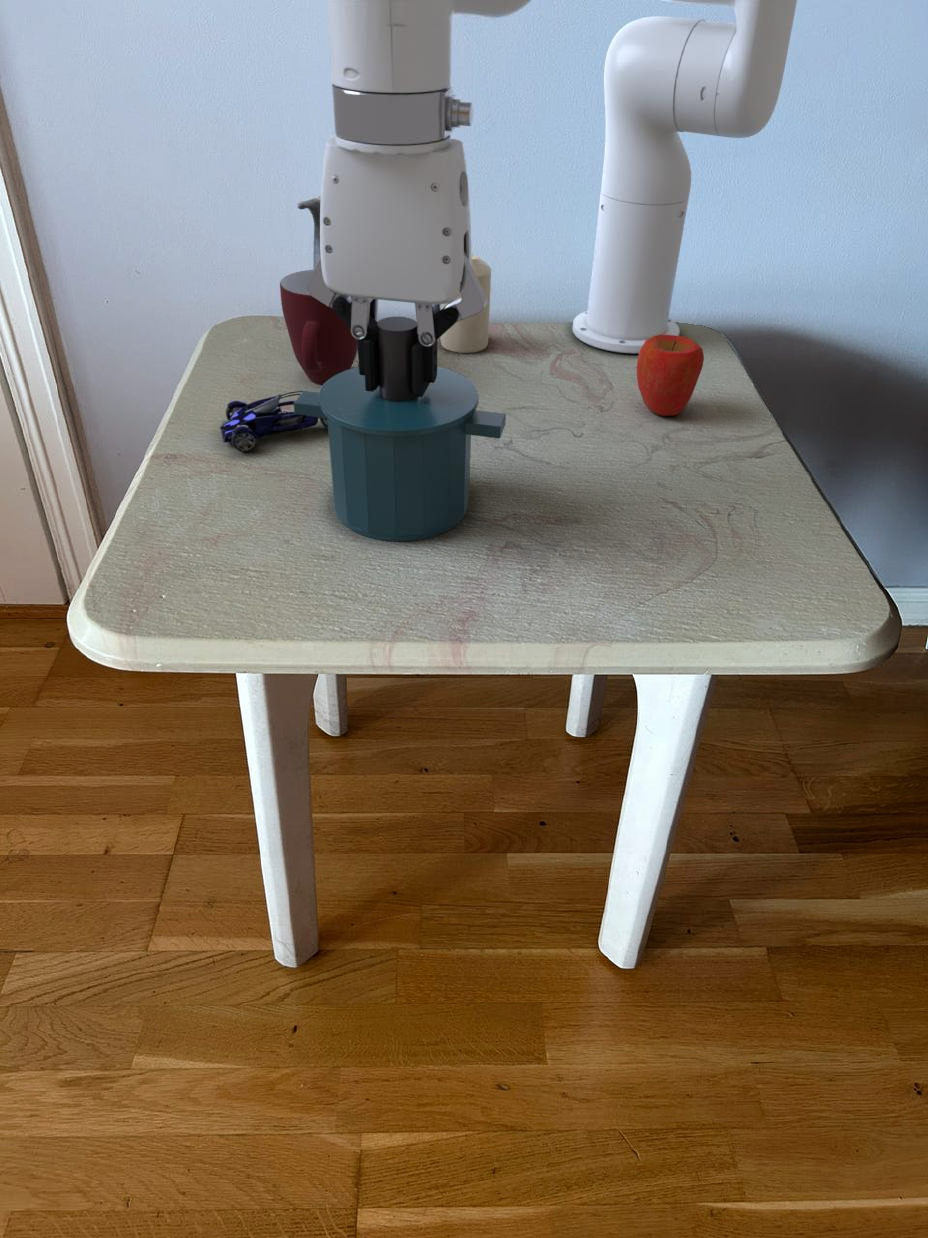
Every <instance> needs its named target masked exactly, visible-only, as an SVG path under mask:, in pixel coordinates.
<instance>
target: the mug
mask: <svg viewBox="0 0 928 1238" xmlns="http://www.w3.org/2000/svg"><path fill="white" fill-rule="evenodd" d="M314 271H315V270H313V269H307V270H306V269H305V270H301V271H297V272H293V273H290V274H288V275H286V276H284V277H283V278H282V279H281V280H280V282H279V291H280V293H279V294H280V302H281V310H282V315H283V318H284V322H285V325H286V330H287V333H288V336H289V340H290V343H291V347H292V351H293V355H294V357H295V359H296V361H297V362H298V364H299V366H300V367H301V369H302V371H303V372H304V374H305V375H306V377H307V378H308V379H309V381H311V382H313V383H315V384H319V385H323V384H324V383H325V382H326V381H328V380H329V379H330V378H332V377H333V376H335V375H337V374H339V373H341V372H343V371H346V370H349V369H352V367H353V364H354V362H355V358H356V357H357V354H358V348H357V347H358V341H357V339H355V338H354V337H353V336H352V334H351V329H350V328H349V327H348V326H347V325H346V323H345V322H344V321H343V320H342V319H341V318H340V317H339V316H338V315H337V314H336V313H335V312H334V310H333V308H331V307H330V306H329V307H328V306H326V305H325V304H323V303H322V302H320V301H319V300H317V299H315V298H314V297H312V296H311V295H310V294H309V293H308V290H307V288H308V285H309V282H310V280H311V278H312V276H313V274H314Z"/></svg>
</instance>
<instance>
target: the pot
mask: <svg viewBox="0 0 928 1238" xmlns="http://www.w3.org/2000/svg"><path fill="white" fill-rule="evenodd" d="M302 391H303V392H300V394H301V395H298V397H297V398H296V401H295V400H294V401H295V402H294V405H293V412H295V414H298V415H306V416H315V417H323V418H327V417H326V416H325V415H324V414H323V412H322V411H321V409H320V406H319V401H318V394H319V391H318V392H317V391H309V390H302ZM506 420H507V414H506V413H505V412H495V411H487V410H477V409H476V410H475V412H474V413H473V414H472V415H471V417H469V418H468V419H467V420H465V421H464V422H462V423H460V424H458V425H456V426H454V427H451V428H449V429H446V430H443V431H439V432H434V433H430V434H424V435H415V436H382V435H373V434H367V433H362V432H358V431H354V430H351V429H348V428H345V427H343V426H340V425H338V424H337V423H335V422H333V421H331V420H330V419H329V418H327V422H328V428H327V435H328V445H329V458H330V472H331V484H332V486H331V487H332V497H333V505H334V512H335V515H336V517H337V518H338V520H339V521H340V523H342V524H343V526H345V527H346V528H347V529H349V530H351V531H353V532H354V533H357V534H359V535H362V536H364V537H367V538H371V539H375V540H381V541H387V542H388V541H389V542H412V541H413V542H414V541H420V540H424V539H425V540H426V539H429V538H434V537H437V536H439V535H441V534H444V533H446V532H449V531H450V530H452V529H453V528H454V527H456V526H457V525H459V524H460V523H461V521H462V520H463V519H464V518H465V516H466V515H467V512H468V506H469V505H468V504H469V502H470V479H471V478H470V475H471V449H472V448H471V445H472V436H476V437H483V438H491V439H501V437H502V434H503V431H504V429H505V427H506Z"/></svg>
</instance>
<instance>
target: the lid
mask: <svg viewBox="0 0 928 1238" xmlns="http://www.w3.org/2000/svg"><path fill="white" fill-rule="evenodd" d="M377 322H378V323H377V341H378V368H379V386H378V388H377V389H376V390H374V391H373V392H371V391H366V389H365V375H360V373H359V366H356V367H351V368H350V369H349V370H346V371H343V372H341V373H339V374H337V375H335V376H333V377H332V378H330V379H329V380H328V381H326V382H325V383H324V384H322V386H321V387H320V389H319V391H318V392H319V394H318V401H319V406H320V409H321V411H322V412H323V414H324V415H325V416H326V417H327V418H329V419H330V420H331V421H333V422H335V423H337V424H338V425H340V426H343V427H345V428H348V429H351V430H354V431H358V432H362V433H367V434H373V435H382V436H415V435H424V434H430V433H434V432H439V431H443V430H446V429H449V428H451V427H454V426H456V425H458V424H460V423H462V422H464V421H465V420H467V419H468V418H469V417H471V415H472V414H473V413H474V412H475V410H477V409H478V407H479V398H480V397H479V396H480V395H479V391H478V389H477V387H476V385H475V384H474V383H473V382H472V381H471V380H470V379H468V378H467V377H466V376H464V375H462V374H460V373H458V372H456V371H453V370H451V369H448V368H445V367H442V366H439V365H437V377H436V380H435V382H434V383H430V384H429V386H428V388H427V389H426V391H425V393H424V395H423V396H422V397H415V395H414V394H412V347H413V345H414V343H415V342H416V341H417V334H418V327H417V320H415V319H413V318H409V317H406V316H388V317H384V318H381V319H379V320H377Z"/></svg>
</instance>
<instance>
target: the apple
mask: <svg viewBox="0 0 928 1238" xmlns="http://www.w3.org/2000/svg"><path fill="white" fill-rule="evenodd" d="M704 361H705V355H704V350H703V348H702V346H700V345H699V344H698V343H697V341H694V340H693V339H692V338H689V337H687V336H680V335H679V336H675V335H657V336H653V337H651V338H649V339H647V340H646V341H645V343H644V344H643V346H642V347H641V349H640V352H639V353H638V356H637V361H636V381H637V386H638V390H639V393H640V396H641V398H642V401H643V404H644V405H645V407H646V408H647V409H648V410H649V411H651V412H652V413H653V414H656V415H658V416H661V417H666V416H667V417H669V416H678V415H679V414H681V413H682V412H683V411H684V410H685V408H686V407H687V405H688V404H689V402H690V400H691V399H692V396H693V394H694V391H695V388H696V386H697V384H698V380H699V377H700V375H701V372H702V371H703V367H704Z"/></svg>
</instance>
